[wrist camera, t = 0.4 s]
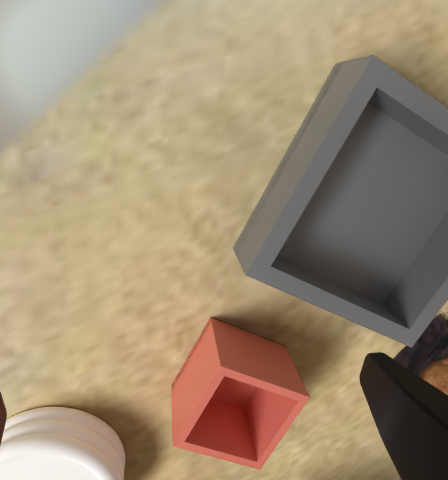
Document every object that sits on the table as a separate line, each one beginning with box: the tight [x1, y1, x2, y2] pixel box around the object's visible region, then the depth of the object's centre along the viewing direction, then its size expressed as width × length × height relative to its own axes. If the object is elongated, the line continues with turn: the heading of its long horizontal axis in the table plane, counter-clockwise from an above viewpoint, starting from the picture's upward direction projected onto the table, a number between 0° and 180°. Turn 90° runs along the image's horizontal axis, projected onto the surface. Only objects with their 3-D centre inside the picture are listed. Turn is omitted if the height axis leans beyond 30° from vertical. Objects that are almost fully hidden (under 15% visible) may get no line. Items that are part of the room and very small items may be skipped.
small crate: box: [172, 318, 310, 469], centre depth 24 cm, size 6×6×5 cm
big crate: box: [233, 55, 448, 347], centre depth 22 cm, size 12×12×4 cm
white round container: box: [0, 407, 126, 480], centre depth 26 cm, size 10×10×4 cm
